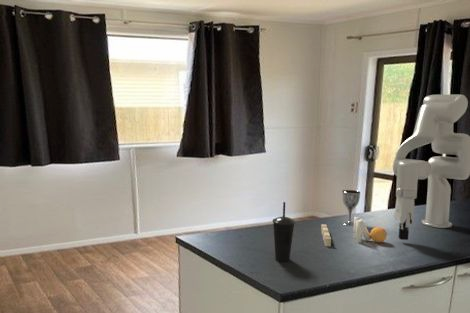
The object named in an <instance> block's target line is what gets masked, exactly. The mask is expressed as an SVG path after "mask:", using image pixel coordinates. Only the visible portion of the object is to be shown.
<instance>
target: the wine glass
mask: <svg viewBox="0 0 470 313" xmlns="http://www.w3.org/2000/svg"><path fill="white" fill-rule="evenodd" d="M341 191H342V192H341V200H342V203H343V205H344V207H345V208H346V209H347V211H348V220H346V221H341V224H342V225H343V226H347V227H348V226H352V227H354V221H352V219H351V218H352V212H353V211H354V209H355V208H356V207H357V206H358V205H359V202H360V199H361V191H359V190H356V189H355V190H354V189H343V190H341Z"/></svg>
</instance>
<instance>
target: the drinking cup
mask: <svg viewBox="0 0 470 313" xmlns="http://www.w3.org/2000/svg"><path fill="white" fill-rule="evenodd" d="M272 224H273V236H274V237H273V238H274V239H273V240H274V255H275V256H274V257H275V258H274V259H275V260H276V261H277V262H283V263H285V262H289V261H290V259H291V252H292V250H291V249H292V244H293V235H294V227H295V224H296V221H295V219H292V218H291V217H287V216H286V202H285V201H283V206H282V216H277V217H275V218H273V219H272Z"/></svg>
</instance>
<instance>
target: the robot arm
mask: <svg viewBox="0 0 470 313" xmlns="http://www.w3.org/2000/svg"><path fill="white" fill-rule="evenodd" d="M468 104H469V101H468V98H467V97H466V95H464V94H430V95H427V96H425V97H424V99H423V102H422V104H421V106H420V108H419V111H418V114H417V118H416V121H415V126H414V129H413V133H412V135H411V136H409V137H408V138H406V140H404V141H403V142H402V144H400V146H398V148H397V150H396V151H395V152H396V153H395V155H394V156H395V157H394V160H393V164H392V172H393V174H394V175H395V176H396V189H395V197H396V200H395V207H394V208H395V209H394V219H395V220H396V221H397V222H399V225H398V227H399V228H398V239H399V240H403V241H405V240H406V241H408V240H409V234H410V226H411V225H412V224H413V223H414V220H415V199H417V198H418V196H417V195H418V194H417V193H418V182H419V181H418V180H426V179H427V192H426V193H427V195H426V208H425V209H426V210H425V218H424V219H421V223H422V225H424V226H427V227H432V228H436V229H437V228H438V229H439V228H440V229H447V228H449V229H450V228H452V227H453V223H452V222H450V221H449V217H450V205H451V203H450V202H451V194H452V189H451V188H452V187H451V184H450V183H449V181H448V180H447V179H450V180H452V179H453V180H461V181H462V180H467V179H469V177H470V135H469V134H467V133H461V132H459V133H458V132H457V133H456V132H454V123H456V122H458V120H460V118H461V117H462V116H464V114H465V113H466V111H467V108H468ZM428 144H431V149H432V152H434V153H436V154H440V155H439V156H432V157H430V158H429V159H428V161H425V160H420V159H411V158H406V157H407V156H408V154H409V153H410V152H411V151H413V150H415V149H418V148H420V147H423V146H425V145H428ZM441 154H442V155H453V156H454V155H455V156H457V157H452V156H441Z"/></svg>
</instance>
